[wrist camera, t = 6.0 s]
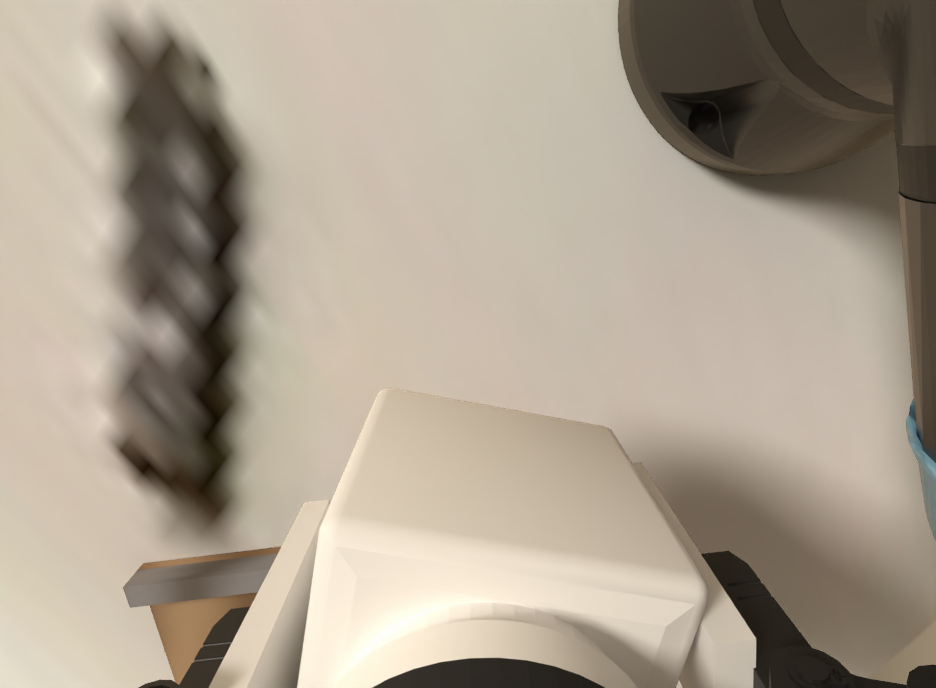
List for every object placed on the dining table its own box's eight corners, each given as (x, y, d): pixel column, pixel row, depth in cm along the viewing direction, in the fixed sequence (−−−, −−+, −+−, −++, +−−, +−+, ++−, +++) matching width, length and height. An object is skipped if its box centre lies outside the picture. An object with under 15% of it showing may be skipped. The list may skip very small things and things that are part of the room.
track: (534, 515, 33) (538, 537, 31) (557, 730, 37) (563, 761, 35) (143, 563, 33) (123, 587, 31) (212, 770, 38) (198, 802, 36)
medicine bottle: (347, 584, 18) (133, 1296, 6) (379, 382, 16) (162, 864, 5) (559, 618, 18) (722, 1344, 7) (614, 424, 16) (968, 967, 5)
